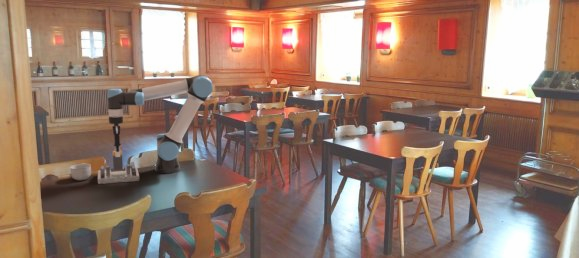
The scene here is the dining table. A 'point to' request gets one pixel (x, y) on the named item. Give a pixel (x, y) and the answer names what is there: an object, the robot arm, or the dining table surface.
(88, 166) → the teacup
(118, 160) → the lever
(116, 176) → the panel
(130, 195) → the dining table surface
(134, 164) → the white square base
